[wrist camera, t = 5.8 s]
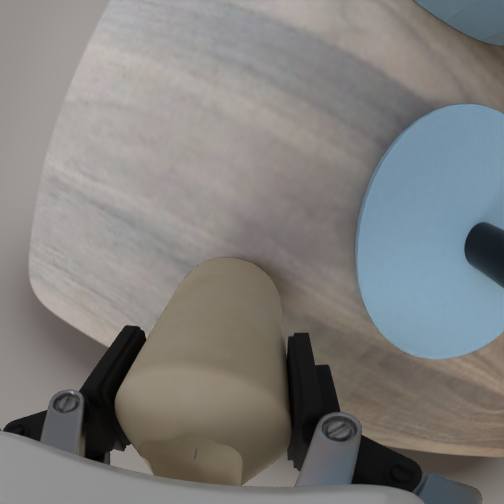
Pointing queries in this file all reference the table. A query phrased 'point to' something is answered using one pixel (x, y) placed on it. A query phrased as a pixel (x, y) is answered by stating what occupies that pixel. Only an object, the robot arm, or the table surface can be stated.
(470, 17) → the pot
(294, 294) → the table surface
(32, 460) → the robot arm
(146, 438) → the candle
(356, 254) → the lid
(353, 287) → the table surface
